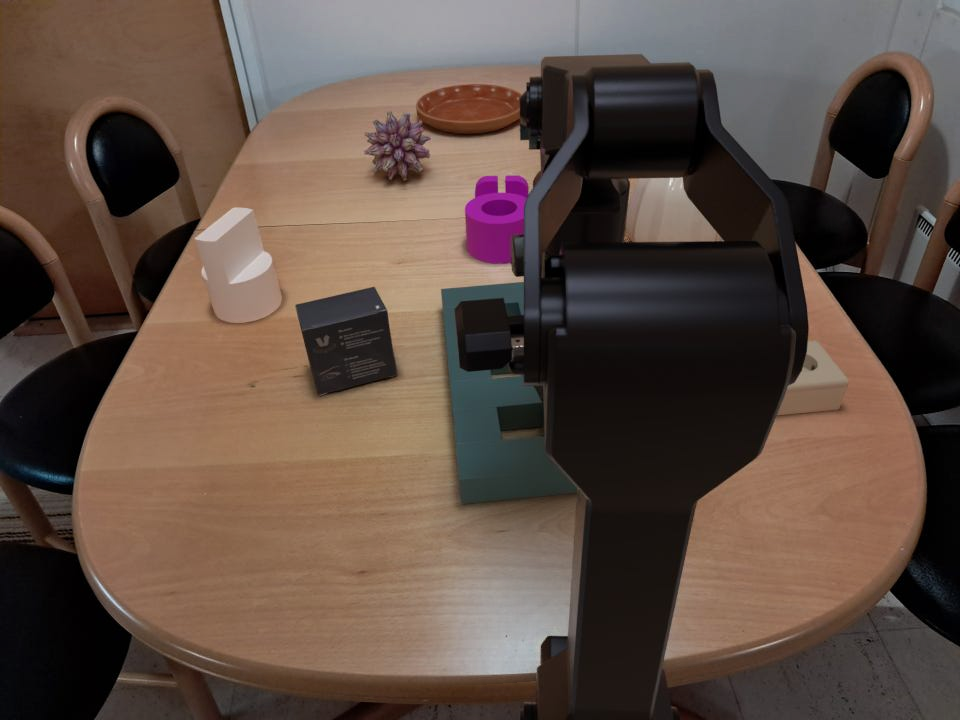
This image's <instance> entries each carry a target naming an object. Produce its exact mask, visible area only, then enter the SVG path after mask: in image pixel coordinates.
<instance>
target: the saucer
mask: <svg viewBox="0 0 960 720" xmlns="http://www.w3.org/2000/svg"><path fill="white" fill-rule="evenodd" d="M522 94H523V93H520V92H519V91H517V90H515V89H513V88H510V87H506V86H503V85H495V84H487V83H486V84H485V83H468V84H467V83H465V84H456V85H450V86H445V87H441V88H437V89H435V90H431V91H429V92H427V93H425V94H423V95H422V96H420V97H419V98H418V100H417V101H416V103H415V109H416V115H417V117H418V119H419V121H422V122H423V123H425V124H427V125H429V126H431V127H432V128H434V129H437V130H440V131H443V132H448V133H454V134H465V135H467V134H468V135H469V134H471V135H473V134H483V133H488V132H494V131H499V130H500V129H503V128H506V127H508V126H510V125H511V124H513V123H514V122H516V121H518V120H520V97H521V95H522Z"/></svg>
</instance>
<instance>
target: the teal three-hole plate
mask: <svg viewBox="0 0 960 720" xmlns="http://www.w3.org/2000/svg"><path fill="white" fill-rule="evenodd" d="M440 294H441V295H440V296H441V306H442V316H443V326H444V327H443V328H444V339H445V348H446V357H447V369H448V379H449V380H448V381H449V389H450V400H451V410H452V411H451V412H452V421H453V431H454V443H455V453H456V464H457V473H458V485H459V494H460V503H461V505H469V504H477V503H488V502H489V503H490V502H498V501H509V500H518V499H526V498H527V499H528V498H537V497H547V496H557V495H558V496H559V495H568V494H577V487H576V486H575V485H574V484H573V483H572V482H571V481H570V480H569V478H568V477H567V476H566V475H565V474H564V473H563V472H562V471H561V470H560V468H559V467H558V466H557V465H556V464H555V463H554V462H553V461H552V460H551V458H550V457H549V456H548V455H547V453H546V449H545V424H544V406H543V404H542V402H541V400H540V397H539V395H538V393H537V391H536V390H535V388H534V387H533V386H524V375H518V376H516V375H515V376H507V377H498V378H497V377H496V378H493V377H492V376H493V375H501V374H512V373H511V372H510V371H509V366H508V364H507V365H506V366H505V367H504V368H502V369H495V370H484V371H472V372H467V371H465V370H463V369H461V368H460V365H459V355H458V345H457V335H456V325H455V312H454V309H455V308H456V307H457V306H458V304H459V303H460V302H461V301H471V300H483V299H495V298H504V302H505V307H506V312H507V316H517V315H524V281H518V282H505V283H494V284H482V285H471V286H459V287H458V286H457V287H447V288H441V289H440ZM533 428H542V430H543V434H544V435H543V436H542V435H541V436H531V437H521V438H520V437H519V438H511V439H510V438H509V439H503V437H502V431H511V430H520V429H521V430H522V429H533Z"/></svg>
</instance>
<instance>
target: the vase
mask: <svg viewBox="0 0 960 720" xmlns="http://www.w3.org/2000/svg"><path fill="white" fill-rule="evenodd" d="M636 180H637V181H636V182H635V184H634V186H633V188H632V191H631V194H630V196H629V201H628V210H627V220H626V229H625V234H627V236H628V237H629V239H630V240H631V242H693V241H724V240H723V239H722V238H721V237H720V236H719V234H718V233H717V232H716V231H715V230H714V228H713V227H712V226H711V225H710V223H709V222H708V221H707V220H706V219H705V217H704V216H703V215H702V214H701V213H700V211H699V210H698V209H697V208H696V207H695V205H694V204H693V203H692V202H691V201H690V199H689V198H688V197H687V195H686V192H685V190H684V186H683V177H681V178H639V179H636Z"/></svg>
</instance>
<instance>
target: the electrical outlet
mask: <svg viewBox="0 0 960 720" xmlns="http://www.w3.org/2000/svg"><path fill="white" fill-rule="evenodd" d="M849 384H850V380H849V377H848V376H847V375H846V374H845V373H844V372H843V371H842V369H841V368H840V367H839V365H838V364H837V363H836V362H835V360H834V359H833V358H832V357H831V355H830V354H829V353H828V352H827V351H826V349H825V348H824V347H823V346H822V344H821V343H820V342H819V341H818V340H808V345H807V353H806V357H805V361H804V364H803V368H802V371H801V373H800V375H799V376H798V378H797V379H796V381H795V383H793V384H791V385H789V386H788V387H787V391H786V394H785V396H784V399H783V401H782V404H781V406H780V409H779V411H778V413H777V416H787V415H795V414H796V415H797V414H805V413H806V414H807V413H815V412H827V411H838V410H840V408H841V405H842V402H843V401H844V400H843V399H844V397H845V395H846V392H847V389H848V387H849Z"/></svg>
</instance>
